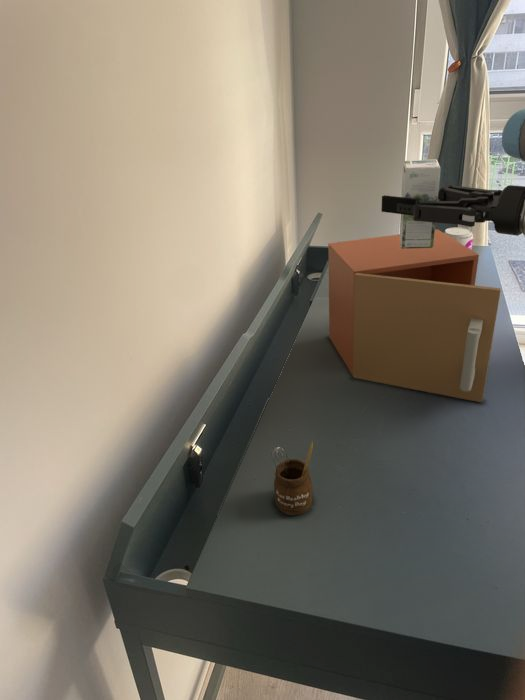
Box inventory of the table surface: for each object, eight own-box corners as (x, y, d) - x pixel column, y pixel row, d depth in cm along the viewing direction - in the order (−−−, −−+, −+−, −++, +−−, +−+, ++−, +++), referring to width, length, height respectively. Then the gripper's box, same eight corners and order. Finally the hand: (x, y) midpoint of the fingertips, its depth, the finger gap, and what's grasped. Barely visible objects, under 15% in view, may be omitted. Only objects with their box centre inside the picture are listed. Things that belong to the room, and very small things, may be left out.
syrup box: (430, 238, 99) (436, 157, 92) (433, 249, 94) (441, 164, 87) (399, 239, 100) (403, 159, 93) (400, 249, 95) (405, 166, 88)
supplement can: (472, 279, 154) (479, 229, 146) (459, 289, 149) (465, 237, 141) (446, 273, 159) (451, 225, 151) (432, 282, 154) (437, 232, 146)
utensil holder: (276, 488, 87) (271, 431, 81) (315, 489, 86) (313, 431, 80) (273, 516, 82) (268, 457, 76) (314, 517, 81) (312, 457, 75)
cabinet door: (477, 420, 98) (496, 304, 86) (343, 392, 109) (344, 286, 97) (482, 399, 103) (501, 288, 91) (354, 375, 114) (356, 272, 102)
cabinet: (464, 357, 117) (479, 254, 105) (352, 375, 114) (354, 271, 102) (429, 322, 133) (437, 229, 121) (329, 337, 130) (328, 243, 118)
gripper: (501, 255, 78) (364, 234, 91) (541, 218, 91) (416, 204, 104) (509, 204, 74) (365, 190, 87) (550, 173, 87) (419, 165, 100)
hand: (393, 197), depth 96 cm, fingers closed on syrup box, 7 cm apart
